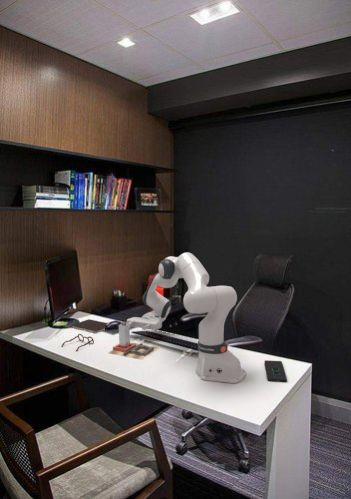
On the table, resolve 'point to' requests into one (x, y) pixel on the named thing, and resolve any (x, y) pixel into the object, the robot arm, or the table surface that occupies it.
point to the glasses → (80, 340)
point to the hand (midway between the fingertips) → (135, 327)
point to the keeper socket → (123, 348)
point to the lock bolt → (124, 335)
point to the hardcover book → (90, 326)
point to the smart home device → (275, 371)
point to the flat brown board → (137, 351)
